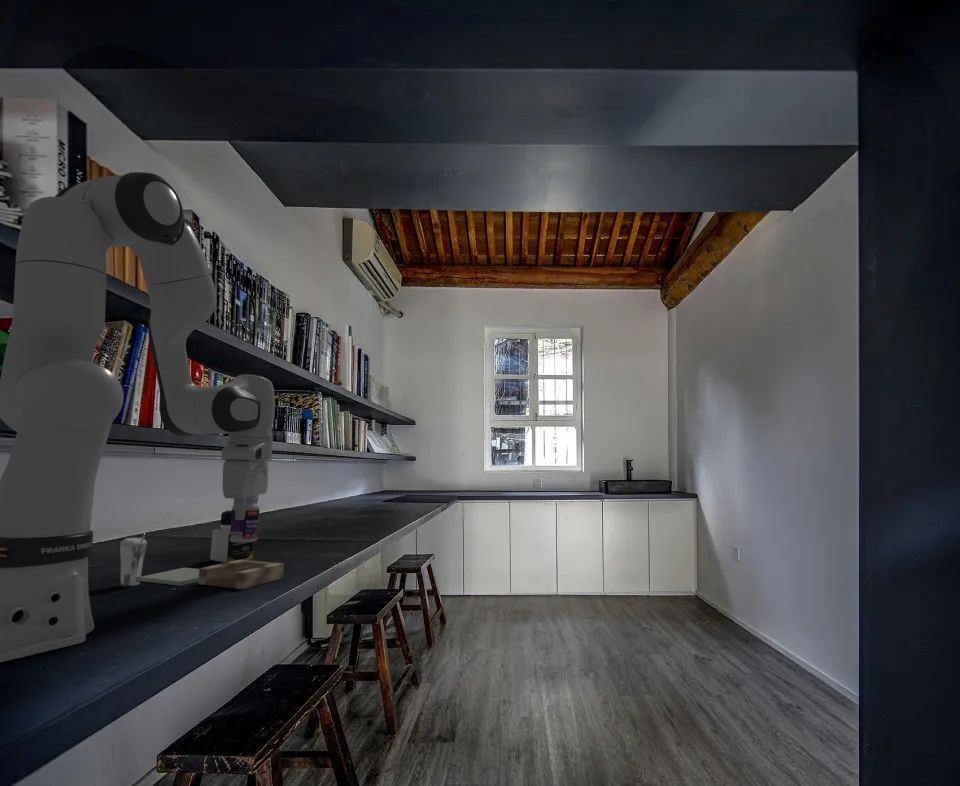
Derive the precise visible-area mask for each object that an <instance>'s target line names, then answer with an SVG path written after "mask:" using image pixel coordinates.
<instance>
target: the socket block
mask: <svg viewBox="0 0 960 786" xmlns="http://www.w3.org/2000/svg"><path fill="white" fill-rule="evenodd" d="M198 569H199V580H198V582H197V584H199V585H203V586H204V585H205V586H212V587H213V586H214V587H222V588H229V589H237V590H246V589H250V588H253V587H256V586H261V585H263V584H267V583H270V582H274V581H277V580H281V579H284V573H285V572H284V571H285V563H284V562H283V563H282V562H271V561H260V560H253V559H250V560H242V559H241V560H236V561H232V562H227V563H225V562H220V563H218V564H214V565H210V566H204V567H201V568H198Z"/></svg>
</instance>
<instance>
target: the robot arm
mask: <svg viewBox="0 0 960 786" xmlns="http://www.w3.org/2000/svg"><path fill="white" fill-rule="evenodd" d="M24 213H25V214H24V216H23V220H22V223H21V227H20V231H19V236H18V241H17V247H16V253H15V254H16V255H15V266H14V267H15V269H14V271H15V273H14V288H13V289H14V290H13V291H14V292H13V308H12V309H13V310H12V318H11V319H12V320H11V326H10V332H9V335H8V340H7V343H6V348H5V353H4V358H3V362H2V367H1V368H2V369H1V374H0V419H1V421H2V422H3V423H4V424H6V425H7V426H8V427H9V428H11V429H12V430H13V431H15V432H16V435H15V438H14V443H13V444H12V445H13V446H12V448H11V452H10V456H9V459H8V461H7V463H6V467H5V469H4V470H3V473H2V474H1V477H0V663H3V662H6V661H11V660H16V659H20V658H24V657H28V656H32V655H36V654H41V653H45V652H49V651H54V650H57V649H61V648H65V647H66V648H67V647H69V646H74V645H77V644H81V643H84V642H86V639H87V635H88V634H89V633H90V632H92V631H94V629H95V628H96V627H95V622H94V619H93V615H92V609H91V603H90V593H89V564H90V561H91V557H92V553H93V539H94V531H92V530H91V526H92V525H91V522H92V515H93V504H94V494H95V493H94V492H95V485H96V484H95V483H96V479H97V474H98V470H99V467H100V462H101V460H102V457H103V453H104V451H105V448H106V445H107V442H108V437H109V434H110V430H111V428H112V424H113V423H114V421H115V419H116V418H117V416H118V415H119V413H120V412H121V410H122V407H123V404H124V390H123V387H122V384H121V382H120V381H119V379H118V378H117V376H116V375H115V374H114V373H113V372H112V371H111V370H109V369H107V367H104V366H102V365H100V364H97V363H94V362H93V359H94V355H95V351H96V348H97V346H98V342H99V339H100V337H101V335H102V333H103V331H104V329H105V325H106V324H105V323H106V322H105V321H106V301H107V300H106V299H107V298H106V297H107V270H108V269H107V252H108V250H109V248H117V247H127V248H128V247H129V249H130V250H131V251H132V252H133V253H134V254H135V256H136V257H137V258H138V260H139V264H140V268H141V272H142V276H143V280H144V282H145V286H146V289H147V292H148V296H149V303H150V316H149V319H148V324H147V331H148V340H149V345H150V350H151V355H152V359H153V364H154V368H155V370H154V371H155V374H156V379H157V383H158V389H159V416H160V419H161V422H162V423H163V425H164V427H165V428H166V430H167V431H168V432H170V433H172V434H173V435H175V436H179V437H191V436H198V435H219V434H220V435H221V434H222V435H224V434H225V435H227V434H228V435H227V436H228V437H227V438H228V439H227V444H226V445H225V446H224V447H223V448H222V449H221V455H220V457H221V460H222V461H224V462H223V464H222V465H223V466H222V493H223V497H224V499H233V505H234V507H235V519H236V520H244V519H245V518H246V512H247V511H246V501H247V497H250V496H253V495H254V494H257V501H255V503H256V504H258V502H259V495H264V494H266V493H267V492H268V491H267V490H268V485H269V483H268V482H269V463H268V461H271V460H272V458H273V457H272V456H273V440H274V435H273V431H272V428H273V427H272V425H273V423H274V420H275V411H276V410H275V409H276V396H275V395H276V394H275V388H274V384H273V382H272V381H271V380H270V379H268V378H267V377H265V376H261V375H260V374H259V375H256V374H251V373H241V374H238V375H237V376H236V377H235V378H234V379H233V380H231V381H229V382H227V383H224V384H220V385H213V386H197V385H196V384H195V383H194V382H193V379H192V375H191V371H190V365H189V360H188V354H187V348H186V347H187V346H186V345H187V344H186V343H187V341H188V337H189V336H190V334H191V333H192V332H193V331H194V330H196V329H197V328H200V326H201V325H203V324H205V323H206V322H207V321H208V320H209V319H210V317H211V316H212V314H213V313H214V311H215V309H216V307H217V292H216V287H215V283H214V281H213V277H212V274H211V270H210V267H209V264H208V262H207V261H208V260H207V259H206V255H205V253H204V251H203V248H202V247H201V244H200V242H199V240H198V239H197V236H196V234H195V233H194V231H193V228H192V227H191V226H190V225H189V224H187V222H185V213H184V208H183V205H182V202H181V199H180V197H179V195H178V193H177V192H176V190H175V189H174V187H172V185H171V184H170V183H169V182H168V181H167V180H166V179H165V178H163V177H161V176H160V175H158V174H156V173H153V172H152V173H151V172H140V171H135V172H134V171H133V172H128V173H126V174H118V175H117V174H116V175H111V176H98V177H96V178H92V179H89V180H86V181H83V182H81V183H77V184H71V185H69V186H67V187H65V188H63V189H62V190H60V191H59V192H58V193H57V194H56V195H55V196H45V197H41V198H38V199H36V200H33V201H32V202H31V203H30V204H29V205H28V206H27V208H26V211H25V212H24Z"/></svg>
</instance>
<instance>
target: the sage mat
mask: <svg viewBox="0 0 960 786" xmlns="http://www.w3.org/2000/svg"><path fill="white" fill-rule="evenodd" d="M198 580H199V568H194V567H193V568H191V567H181V568H175V569H171V570H167V571H160V572H157V573H151V574H147V575H141V578H140V582H144V583H154V584H162V585H171V586H176V587H177V586H179V587H182V586H185V585H189V584H190V585H191V584H192V583H198Z"/></svg>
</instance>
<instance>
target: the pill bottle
mask: <svg viewBox="0 0 960 786" xmlns="http://www.w3.org/2000/svg"><path fill="white" fill-rule="evenodd" d="M255 501H257V494H254V495H253V496H250V497H247V501H246V511H247V512H246V518H245V519H244V520H236V519H235V507H234V504H233V506H232V507H231V510H232V516H231V529H230V541H231V542H253V543H254V542H256V541H258V534H259V521H260V520H259V519H260V508H261V507H260V505H259V504H258V503H257V504H256V503H255Z"/></svg>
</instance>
